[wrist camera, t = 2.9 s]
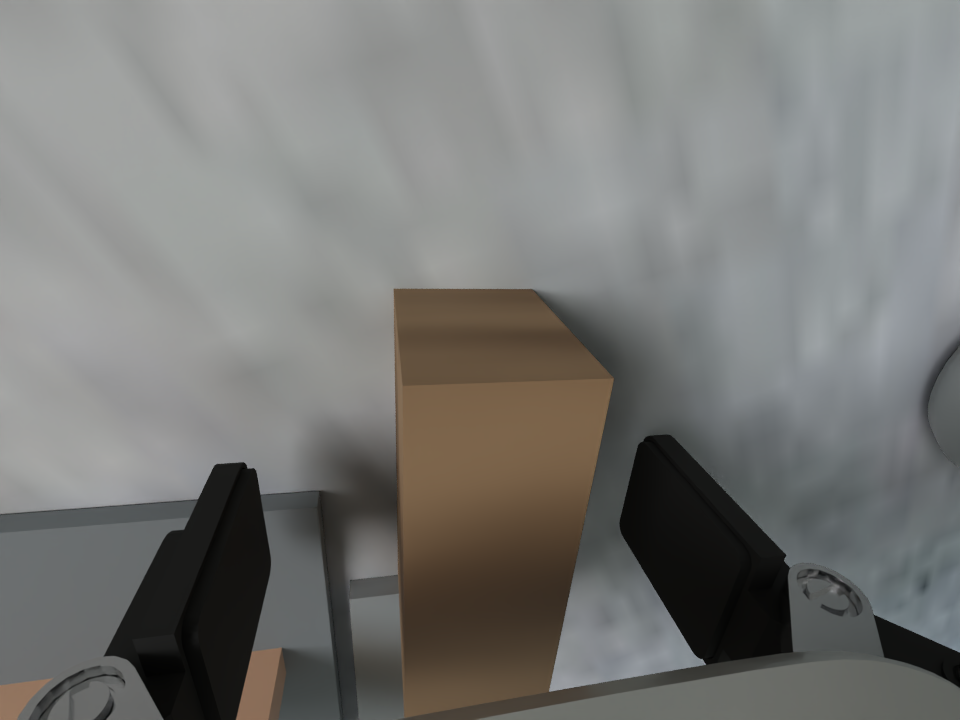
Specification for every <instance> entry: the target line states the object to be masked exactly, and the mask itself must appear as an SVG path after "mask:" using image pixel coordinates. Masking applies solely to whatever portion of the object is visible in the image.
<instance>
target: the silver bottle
mask: <svg viewBox="0 0 960 720" xmlns="http://www.w3.org/2000/svg"><path fill="white" fill-rule="evenodd" d="M928 420H929V424H930V427H931V430H932V432H933V434H934V436H935V438H936V440H937V442H938V444H939V446H940V448H941V450H942V451H943V452H944V454H945V455H946V457H947V458H948V459H949V460H950V461H952V462H953V463H954V464H955V465H957V466H958V467H959V468H960V346H959V347H958V348H957V350H956V351H955V352H954V353H953V355H952V356H951V357H950V359H949V360H948V361H947V362H946V364H945V366H944V367H943V369H942V371H941V372H940V374H939V376H938V377H937V380H936V382H935V384H934V387H933V389H932V392H931V395H930V399H929V404H928Z"/></svg>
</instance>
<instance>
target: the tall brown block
mask: <svg viewBox="0 0 960 720" xmlns="http://www.w3.org/2000/svg"><path fill="white" fill-rule="evenodd" d="M394 338H395V405H396V471H397V538H398V575H394V576H385V577H376V578H367V579H358V580H350V594H349V604H350V617H351V629H352V642H353V654H354V667H355V679H356V692H357V704H358V717H359V720H395V719H401V718H406V717H412V716H417V715H423V714H428V713H434V712H440V711H445V710H451V709H456V708H462V707H467V706H473V705H478V704H484V703H489V702H495V701H501V700H506V699H512V698H518V697H523V696H529V695H535V694H540V693H546V692H549V688H550V683H551V679H552V674H553V669H554V664H555V659H556V655H557V650H558V645H559V640H560V635H561V631H562V626H563V621H564V616H565V611H566V607H567V602H568V597H569V592H570V587H571V583H572V578H573V573H574V568H575V563H576V559H577V554H578V549H579V544H580V539H581V535H582V530H583V525H584V520H585V515H586V511H587V506H588V501H589V496H590V492H591V487H592V482H593V477H594V472H595V468H596V463H597V458H598V453H599V448H600V444H601V439H602V434H603V429H604V424H605V420H606V415H607V410H608V405H609V400H610V396H611V391H612V386H613V381H614V378H613V377H612V376H611V375H610V374H609V372H608V371H607V370H606V369H605V368H604V367H603V366H602V365H601V364H600V363H599V362H598V360H597V359H596V358H595V357H594V356H593V355H592V354H591V353H590V352H589V351H588V350H587V349H586V347H585V346H584V345H583V344H582V343H581V342H580V341H579V340H578V339H577V338H576V337H575V335H574V334H573V333H572V332H571V331H570V330H569V329H568V328H567V327H566V326H565V325H564V323H563V322H562V321H561V320H560V319H559V318H558V317H557V316H556V315H555V314H554V313H553V312H552V310H551V309H550V308H549V307H548V306H547V305H546V304H545V303H544V302H543V301H542V300H541V298H540V297H539V296H538V295H537V294H536V293H535V292H534V291H533V290H532V289H394Z"/></svg>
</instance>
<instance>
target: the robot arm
mask: <svg viewBox="0 0 960 720" xmlns="http://www.w3.org/2000/svg"><path fill="white" fill-rule="evenodd" d="M620 530H621V533H622V536H623V537H624V539H625V541H626V542H627V544H628V546H629V547H630V549H631V551H632V552H633V554H634V556H635V557H636V559H637V560H638V562H639V564H640V565H641V567H642V569H643V570H644V572H645V574H646V575H647V577H648V579H649V580H650V582H651V584H652V585H653V587H654V589H655V590H656V592H657V594H658V595H659V597H660V598H661V600H662V602H663V603H664V605H665V607H666V608H667V610H668V612H669V613H670V615H671V617H672V618H673V620H674V622H675V623H676V625H677V627H678V628H679V630H680V632H681V633H682V635H683V636H684V638H685V640H686V641H687V643H688V645H689V646H690V648H691V650H692V651H693V653H694V654H695V655H696V656H697V657H698V658H700V659H703V660H704V662H705V663H706V665H703V666H697V667H691V668H685V669H679V670H673V671H668V672H662V673H656V674H650V675H644V676H638V677H632V678H626V679H620V680H615V681H609V682H603V683H597V684H592V685H586V686H580V687H574V688H569V689H563V690H557V691H552V692H546V693H540V694H535V695H529V696H523V697H518V698H512V699H506V700H501V701H495V702H489V703H484V704H478V705H473V706H467V707H462V708H456V709H451V710H445V711H440V712H434V713H428V714H423V715H417V716H412V717H406V718H401V719H395V720H960V653H959V652H957V651H955V650H952V649H950V648H948V647H946V646H943V645H941V644H939V643H937V642H934V641H932V640H930V639H928V638H925V637H923V636H921V635H918V634H916V633H914V632H912V631H909V630H907V629H905V628H903V627H900V626H898V625H896V624H893V623H891V622H889V621H887V620H884V619H882V618H880V617H878V616H875V615H874V614H873V610H872V607H871V605H870V603H869V601H868V599H867V597H866V596H865V595H864V594H863V592H862V591H861V590H860V589H859V588H858V587H857V586H856V585H854V584H853V583H852V582H851V581H850V580H848V579H847V578H845V577H844V576H842V575H841V574H839V573H837V572H835V571H833V570H831V569H829V568H826V567H824V566H820V565H816V564H813V563H800V564H796V565H794V566H793V567H791V568H790V567H789V566H788V565H787V564H786V563H785V562H784V559H785V557H786V554H785V553H784V552H783V551H782V550H781V549H780V548H779V547H778V546H777V545H776V544H775V543H774V542H773V541H772V540H771V539H770V538H769V537H768V536H767V535H766V534H765V533H764V532H763V531H762V529H761V528H760V527H759V526H758V525H757V524H756V523H755V522H754V521H753V520H752V519H751V518H750V517H749V516H748V515H747V514H746V513H745V512H744V511H743V510H742V509H741V508H740V507H739V505H738V504H737V503H736V502H735V501H734V500H733V499H732V498H731V497H730V496H729V495H728V494H727V493H726V492H725V491H724V490H723V489H722V488H721V487H720V486H719V485H718V484H717V483H716V482H715V480H714V479H713V478H712V477H711V476H710V475H709V474H708V473H707V472H706V471H705V470H704V469H703V468H702V467H701V466H700V465H699V464H698V463H697V462H696V461H695V460H694V459H693V458H692V457H691V455H690V454H689V453H688V452H687V451H686V450H685V449H684V448H683V447H682V446H681V445H680V444H679V443H678V442H677V441H676V440H675V439H674V438H673V437H672V436H671V435H654V436H647V437H646V438H645V439H644V441H643V442H641V443H639V445H638V448H637V452H636V456H635V460H634V464H633V468H632V472H631V476H630V481H629V485H628V489H627V493H626V497H625V501H624V505H623V509H622V513H621V517H620ZM270 571H271V555H270V549H269V543H268V537H267V531H266V525H265V519H264V513H263V508H262V502H261V496H260V490H259V484H258V478H257V473H256V470H255V469H254V468H252V469H247V465H246V464H245V463H244V462H242V463H226V464H216V465H215V466H214V468H213V469H212V472H211V474H210V476H209V478H208V480H207V482H206V484H205V486H204V488H203V491H202V493H201V495H200V497H199V499H198V501H197V503H196V505H195V507H194V510H193V512H192V514H191V516H190V518H189V520H188V522H187V524H186V526H185V529H184V530H174V531H170V532H169V533H168V534H167V535H166V536H165V538H164V540H163V541H162V543H161V545H160V547H159V549H158V551H157V553H156V555H155V557H154V559H153V561H152V563H151V565H150V567H149V569H148V571H147V572H146V574H145V576H144V578H143V580H142V582H141V584H140V586H139V588H138V590H137V592H136V594H135V596H134V598H133V600H132V602H131V604H130V606H129V608H128V610H127V612H126V613H125V615H124V617H123V619H122V621H121V623H120V625H119V627H118V629H117V631H116V633H115V635H114V637H113V639H112V641H111V643H110V645H109V647H108V649H107V651H106V653H105V654H104V656H103V657H97V658H94V659H90V660H87V661H83V662H81V663H79V664H77V665H75V666H73V667H71V668H69V669H67V670H65V671H63V672H62V673H60V674H59V675H57V676H56V677H55V678H53V679H52V680H50V681H49V682H48V683H46V684H45V685H44V686H43V687H42V688H41V689H40V690H39V691H38V692H37V693H36V694H35V695H34V696H33V697H32V698H31V699H30V700H29V702H28V703H27V704H26V706H25V707H24V709H23V710H22V712H21V713H20V714H19V716H18V718H17V720H236V718H237V713H238V709H239V705H240V700H241V696H242V692H243V688H244V683H245V679H246V675H247V671H248V666H249V662H250V658H251V654H252V649H253V645H254V641H255V636H256V632H257V628H258V624H259V619H260V615H261V611H262V607H263V602H264V598H265V594H266V589H267V585H268V581H269V577H270Z"/></svg>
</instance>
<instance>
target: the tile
mask: <svg viewBox="0 0 960 720" xmlns="http://www.w3.org/2000/svg"><path fill="white" fill-rule="evenodd" d="M285 677H286V669H285V663H284V658H283V652H282V648H275V649H267V650H260V651H253V652H252V654H251V658H250V662H249V666H248V671H247V675H246V679H245V683H244V688H243V692H242V696H241V700H240V705H239V709H238V713H237V718H236V720H278V719H279V713H280V707H281V701H282V695H283V689H284V683H285ZM52 679H53V678H51V679H44V680H36V681H29V682H22V683H14V684H7V685H0V720H17V718H18V716H19V714H20V713H21V712H22V710H23V709H24V707H25V706H26V704H27V703H28V702H29V700H30V699H31V698H32V697H33V696H34V695H35V694H36V693H37V692H38V691H39V690H40V689H41V688H42V687H43V686H44V685H45V684H46V683H48V682H49V681H50V680H52Z"/></svg>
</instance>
